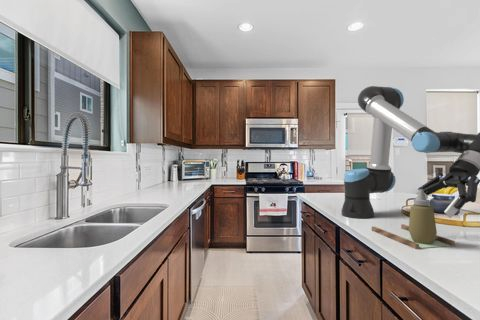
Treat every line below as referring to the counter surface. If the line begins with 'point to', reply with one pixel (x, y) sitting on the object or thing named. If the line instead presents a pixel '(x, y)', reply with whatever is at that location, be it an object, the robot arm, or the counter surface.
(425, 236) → the squeeze bottle
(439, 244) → the pad
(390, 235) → the rail
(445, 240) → the rail
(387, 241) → the counter surface
